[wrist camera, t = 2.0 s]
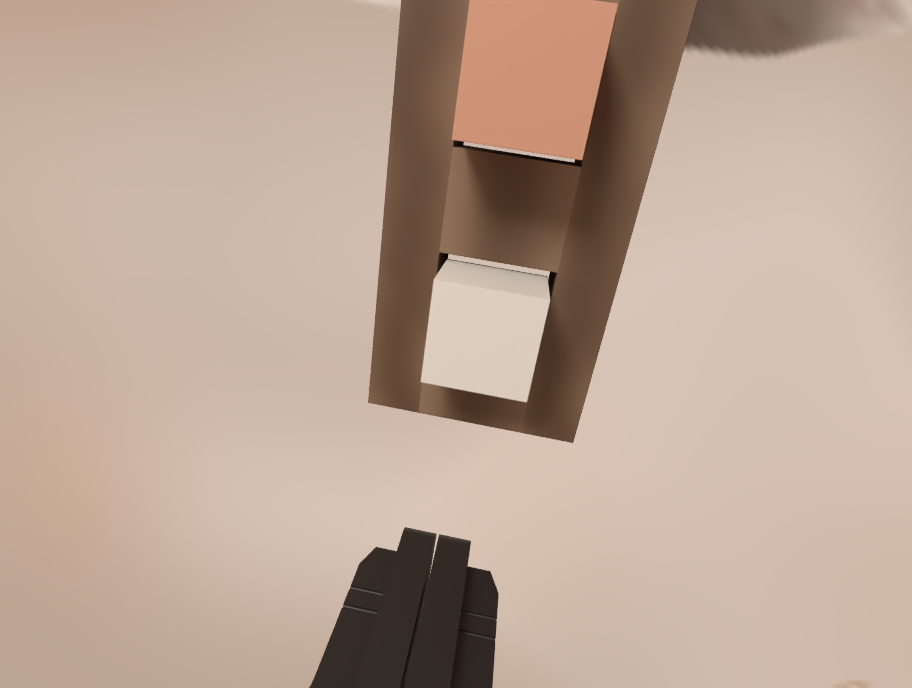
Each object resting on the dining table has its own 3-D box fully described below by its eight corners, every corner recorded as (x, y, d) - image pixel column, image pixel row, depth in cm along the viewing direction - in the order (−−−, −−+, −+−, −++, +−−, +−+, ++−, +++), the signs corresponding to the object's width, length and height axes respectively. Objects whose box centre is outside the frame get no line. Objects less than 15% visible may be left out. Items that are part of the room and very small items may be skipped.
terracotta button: (602, 26, 21) (618, 3, 18) (573, 156, 23) (582, 160, 20) (481, 9, 22) (471, -17, 18) (463, 138, 24) (451, 139, 20)
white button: (547, 276, 26) (550, 300, 22) (527, 367, 28) (526, 402, 24) (447, 259, 26) (433, 279, 22) (434, 349, 28) (420, 381, 24)
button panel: (690, -49, 23) (721, -84, 19) (568, 407, 32) (572, 442, 29) (429, -82, 23) (411, -122, 20) (386, 372, 33) (368, 402, 29)
